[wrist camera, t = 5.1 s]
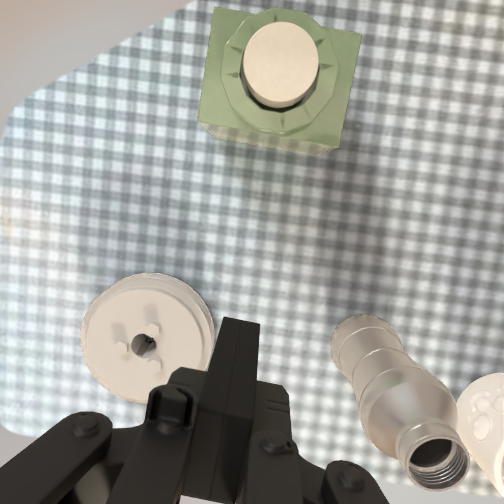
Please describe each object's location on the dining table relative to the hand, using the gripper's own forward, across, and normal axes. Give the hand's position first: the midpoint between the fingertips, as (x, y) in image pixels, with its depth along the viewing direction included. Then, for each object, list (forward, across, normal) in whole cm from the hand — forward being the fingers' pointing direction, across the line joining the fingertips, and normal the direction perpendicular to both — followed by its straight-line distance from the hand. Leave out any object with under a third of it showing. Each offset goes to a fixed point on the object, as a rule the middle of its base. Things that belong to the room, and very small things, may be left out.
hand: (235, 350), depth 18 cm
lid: (+25, +8, +12) cm, 29 cm away
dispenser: (+27, +1, -12) cm, 29 cm away
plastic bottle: (+26, -12, +8) cm, 30 cm away
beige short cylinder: (+13, +1, -13) cm, 19 cm away
